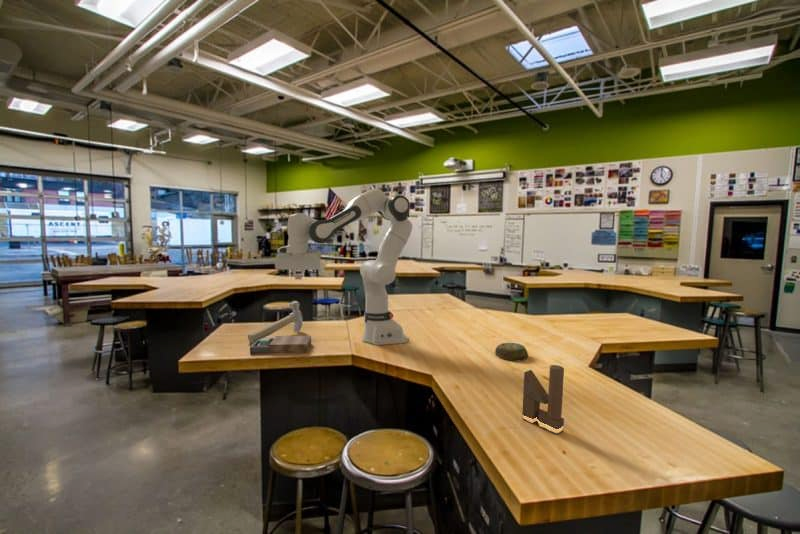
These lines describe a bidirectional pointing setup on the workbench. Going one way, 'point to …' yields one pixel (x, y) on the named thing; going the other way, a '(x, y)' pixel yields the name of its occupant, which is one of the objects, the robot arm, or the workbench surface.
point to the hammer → (280, 324)
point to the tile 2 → (264, 341)
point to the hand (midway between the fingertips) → (298, 279)
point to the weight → (511, 351)
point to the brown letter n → (544, 397)
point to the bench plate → (290, 344)
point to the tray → (259, 348)
